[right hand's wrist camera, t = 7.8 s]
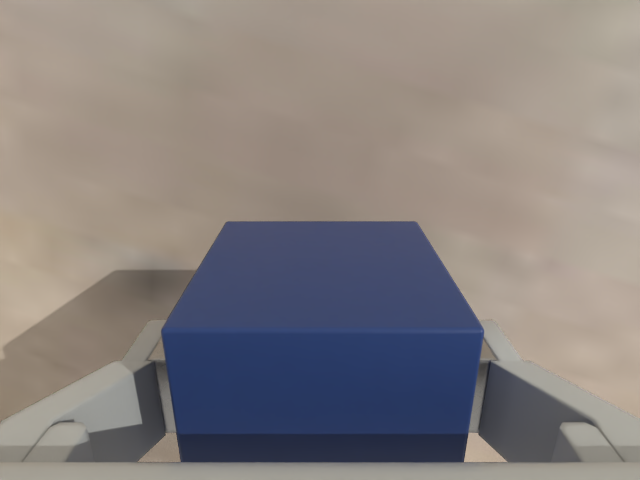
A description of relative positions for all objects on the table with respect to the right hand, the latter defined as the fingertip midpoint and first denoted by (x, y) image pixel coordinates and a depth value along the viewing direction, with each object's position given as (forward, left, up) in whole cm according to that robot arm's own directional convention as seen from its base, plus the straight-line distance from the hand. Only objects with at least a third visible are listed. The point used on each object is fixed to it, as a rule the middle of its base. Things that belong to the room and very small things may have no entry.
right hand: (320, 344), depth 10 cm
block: (0, 0, -2) cm, 2 cm away
